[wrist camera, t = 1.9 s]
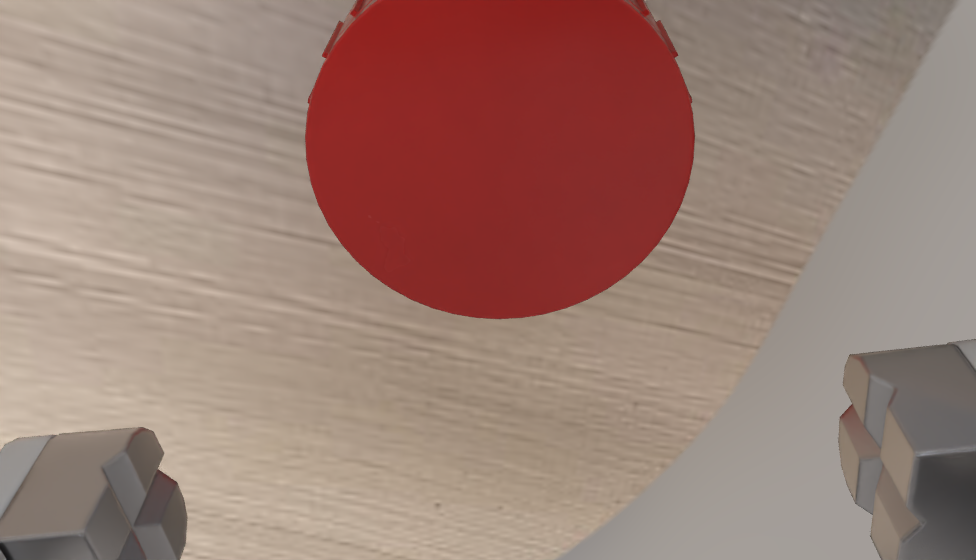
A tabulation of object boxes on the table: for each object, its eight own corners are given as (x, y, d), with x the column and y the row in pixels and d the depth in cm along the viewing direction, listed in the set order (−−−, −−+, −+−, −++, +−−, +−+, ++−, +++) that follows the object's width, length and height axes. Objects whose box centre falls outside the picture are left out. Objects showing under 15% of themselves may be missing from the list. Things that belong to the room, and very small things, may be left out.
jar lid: (462, -163, 15) (456, -142, 13) (748, 75, 18) (783, 126, 16) (259, 137, 18) (229, 193, 16) (526, 309, 21) (530, 378, 19)
